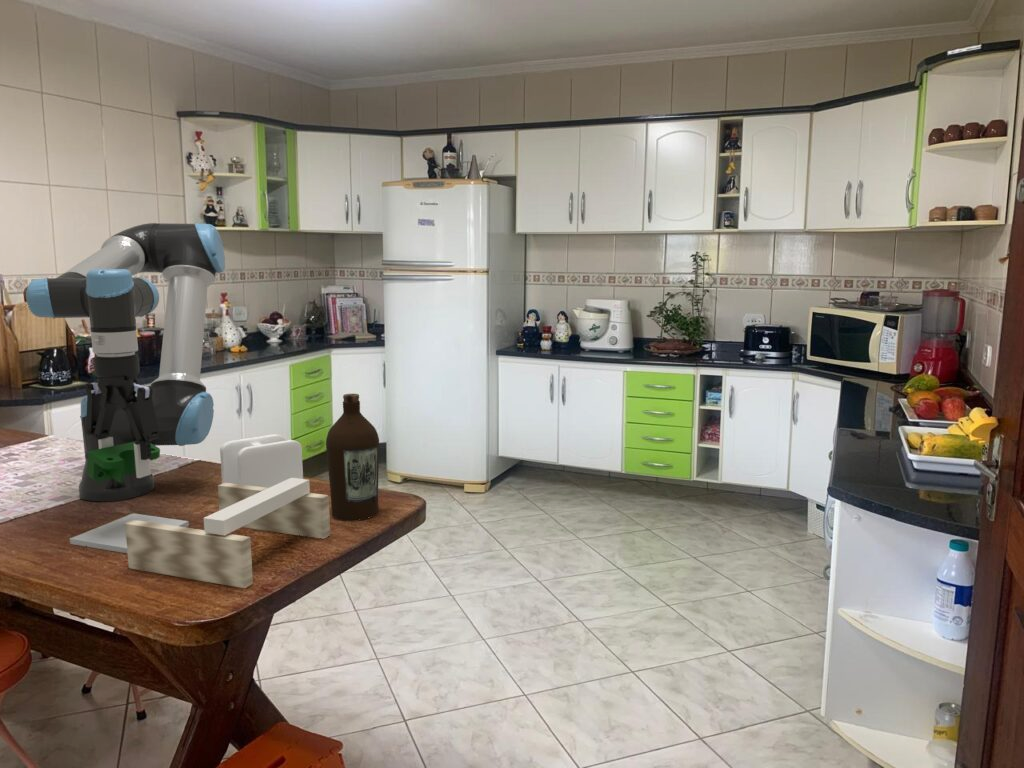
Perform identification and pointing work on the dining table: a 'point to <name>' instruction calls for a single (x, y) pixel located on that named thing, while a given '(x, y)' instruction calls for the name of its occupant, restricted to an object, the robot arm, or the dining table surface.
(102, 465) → the clamp
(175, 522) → the grey pad
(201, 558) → the stand
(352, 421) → the olive oil
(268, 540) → the dining table surface
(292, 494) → the strap bar
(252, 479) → the cable organizer
